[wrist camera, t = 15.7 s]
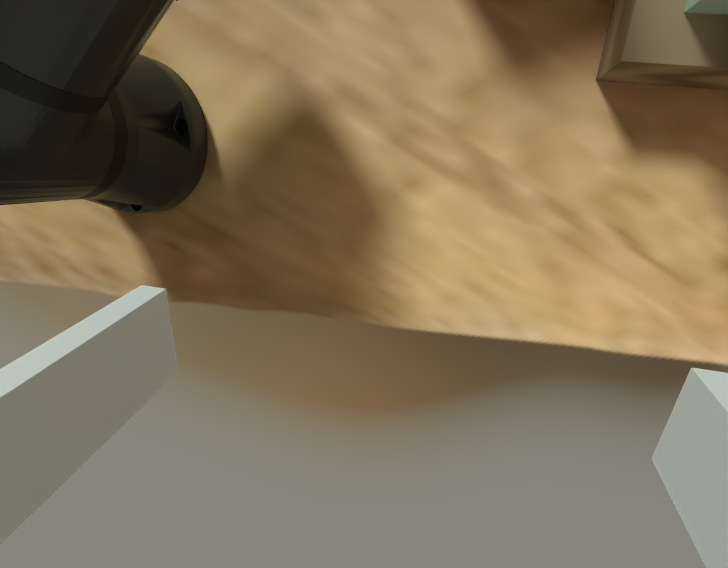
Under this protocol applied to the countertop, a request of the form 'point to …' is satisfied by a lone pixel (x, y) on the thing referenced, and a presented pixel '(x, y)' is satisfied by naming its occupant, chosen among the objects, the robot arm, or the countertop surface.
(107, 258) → the countertop surface
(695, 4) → the sage block
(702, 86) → the walnut block
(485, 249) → the countertop surface
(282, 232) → the countertop surface
